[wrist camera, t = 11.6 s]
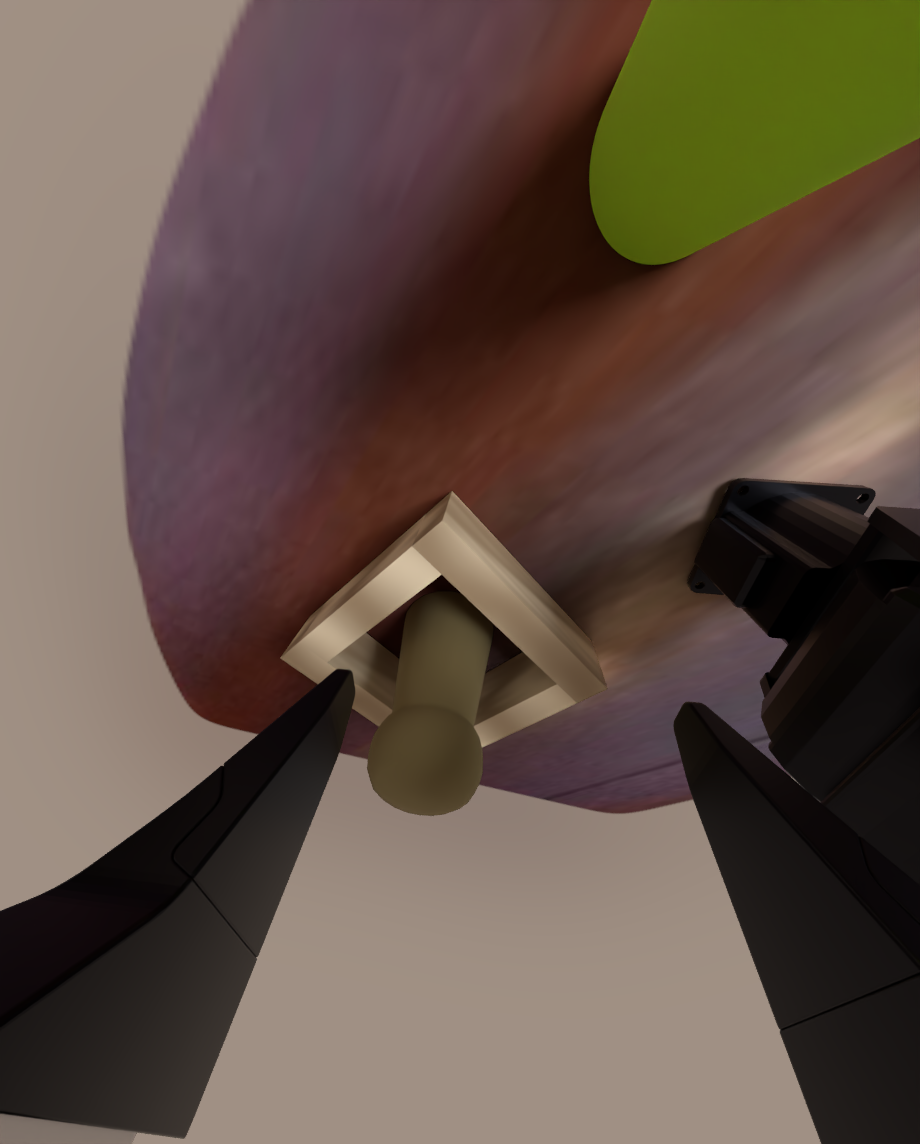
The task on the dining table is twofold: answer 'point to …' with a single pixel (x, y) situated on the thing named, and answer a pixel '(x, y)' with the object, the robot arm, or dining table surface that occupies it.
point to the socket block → (493, 585)
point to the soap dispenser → (747, 114)
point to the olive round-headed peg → (434, 709)
